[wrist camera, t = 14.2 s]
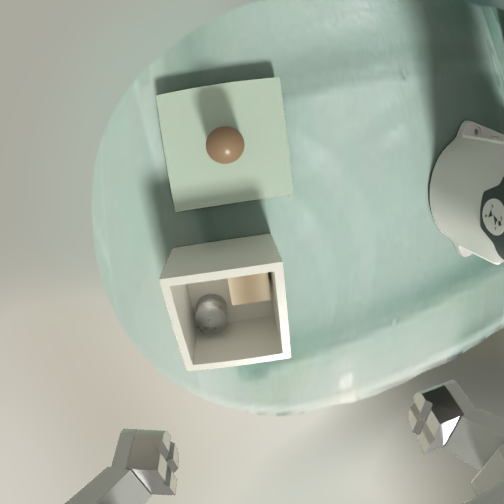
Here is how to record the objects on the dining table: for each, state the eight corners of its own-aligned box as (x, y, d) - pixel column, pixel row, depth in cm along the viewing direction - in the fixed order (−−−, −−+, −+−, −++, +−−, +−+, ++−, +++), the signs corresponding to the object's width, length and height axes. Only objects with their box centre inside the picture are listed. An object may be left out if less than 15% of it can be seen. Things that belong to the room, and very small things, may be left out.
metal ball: (224, 291, 36) (224, 305, 34) (229, 317, 38) (229, 332, 35) (193, 295, 36) (191, 309, 34) (200, 321, 38) (198, 335, 35)
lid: (275, 80, 29) (287, 68, 23) (289, 190, 34) (303, 204, 28) (160, 98, 29) (144, 90, 23) (178, 206, 34) (167, 224, 27)
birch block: (262, 250, 35) (266, 264, 31) (266, 282, 36) (270, 299, 33) (225, 255, 35) (226, 270, 31) (231, 287, 36) (232, 305, 33)
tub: (270, 233, 35) (282, 261, 28) (279, 316, 39) (291, 357, 32) (172, 247, 35) (159, 279, 27) (192, 328, 39) (187, 371, 32)
